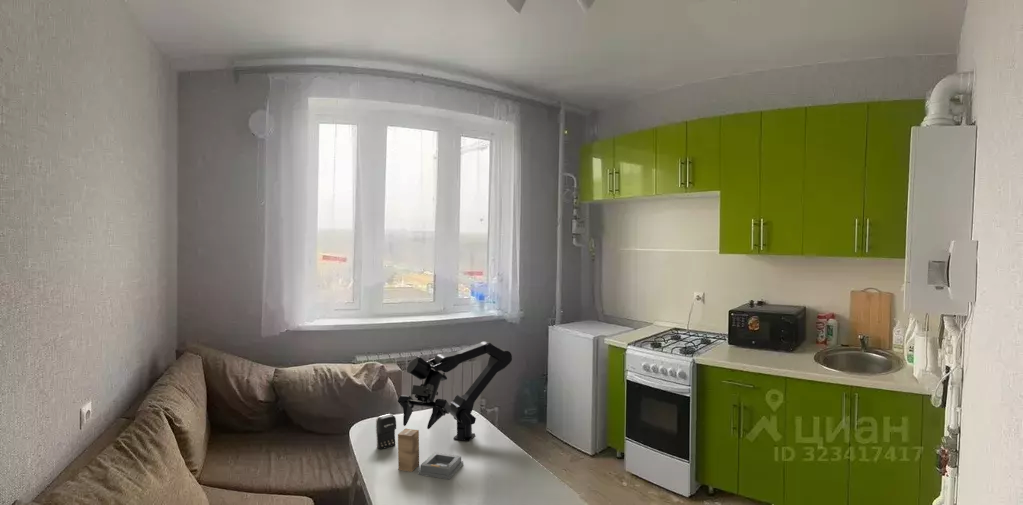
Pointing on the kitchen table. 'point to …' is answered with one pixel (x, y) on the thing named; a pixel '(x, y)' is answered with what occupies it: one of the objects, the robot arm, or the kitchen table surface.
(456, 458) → the square gray tray
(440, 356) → the robot arm
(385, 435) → the battery charger
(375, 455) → the kitchen table surface
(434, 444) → the kitchen table surface
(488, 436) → the kitchen table surface
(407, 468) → the tall cardboard box
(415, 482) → the kitchen table surface
